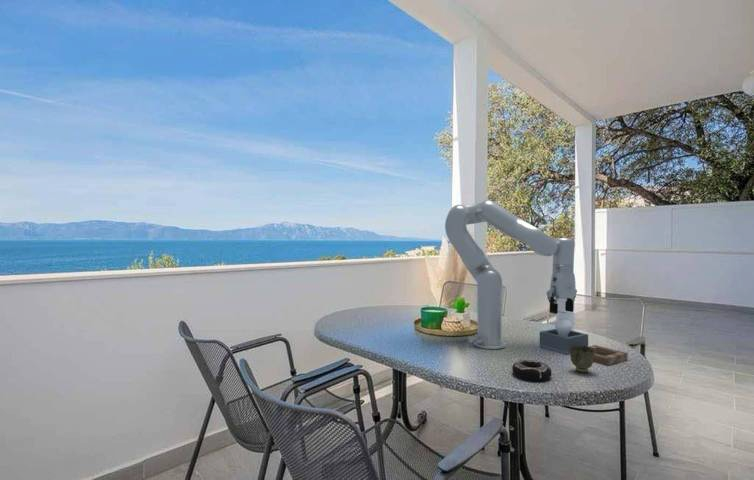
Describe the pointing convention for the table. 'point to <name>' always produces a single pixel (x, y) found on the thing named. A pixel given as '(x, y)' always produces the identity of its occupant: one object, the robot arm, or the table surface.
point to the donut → (531, 370)
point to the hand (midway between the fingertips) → (561, 312)
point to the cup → (582, 357)
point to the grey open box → (562, 340)
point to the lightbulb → (563, 326)
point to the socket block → (608, 355)
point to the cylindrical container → (565, 312)
